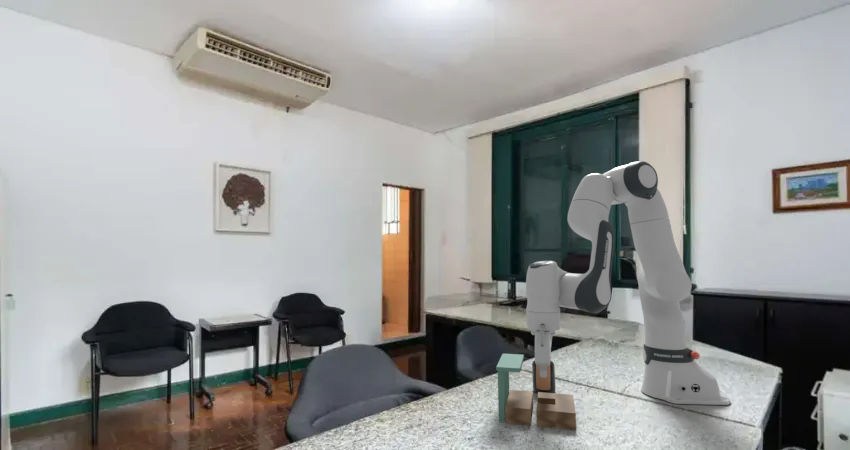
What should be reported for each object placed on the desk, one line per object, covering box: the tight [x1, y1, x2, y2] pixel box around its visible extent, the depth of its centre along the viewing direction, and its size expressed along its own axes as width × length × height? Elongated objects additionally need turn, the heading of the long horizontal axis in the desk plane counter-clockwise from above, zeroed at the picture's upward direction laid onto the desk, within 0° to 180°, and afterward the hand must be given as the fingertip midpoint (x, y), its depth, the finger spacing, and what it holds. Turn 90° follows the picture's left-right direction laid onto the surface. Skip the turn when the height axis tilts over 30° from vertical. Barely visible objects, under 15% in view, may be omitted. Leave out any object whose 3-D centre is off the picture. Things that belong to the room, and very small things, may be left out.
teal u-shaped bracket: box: [495, 353, 525, 423], centre depth 115 cm, size 6×15×14 cm, turn 164°
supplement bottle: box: [531, 356, 556, 394], centre depth 133 cm, size 7×7×12 cm
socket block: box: [505, 389, 577, 431], centre depth 113 cm, size 17×14×4 cm
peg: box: [536, 365, 550, 390], centre depth 113 cm, size 4×4×10 cm
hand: (543, 374), depth 113 cm, fingers closed on peg, 4 cm apart
